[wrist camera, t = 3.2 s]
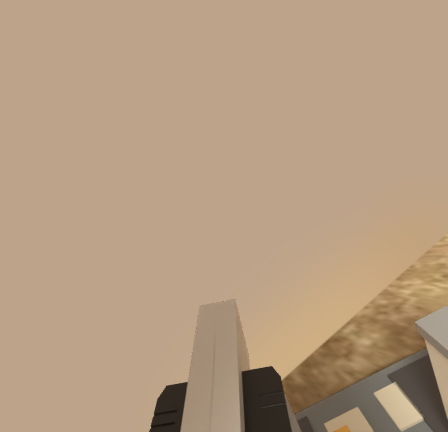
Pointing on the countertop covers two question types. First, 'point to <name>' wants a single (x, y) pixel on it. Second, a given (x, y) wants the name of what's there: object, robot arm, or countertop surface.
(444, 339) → the slider
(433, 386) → the console
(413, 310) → the countertop surface
